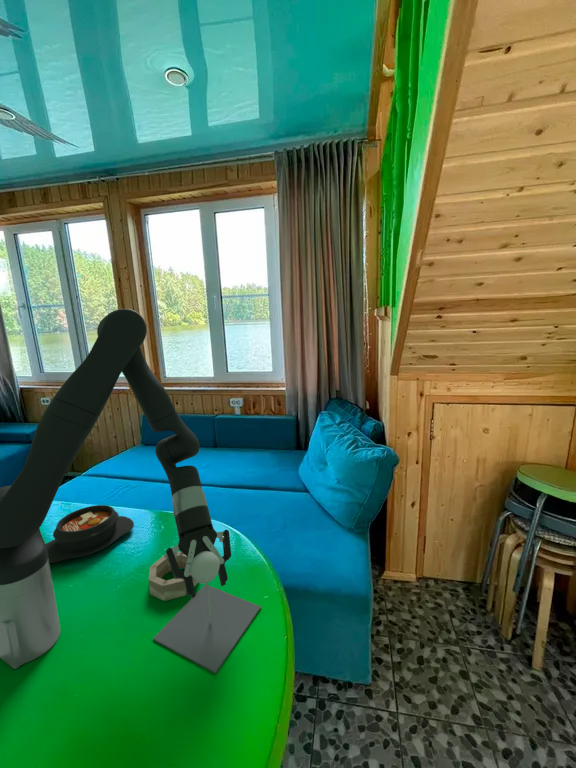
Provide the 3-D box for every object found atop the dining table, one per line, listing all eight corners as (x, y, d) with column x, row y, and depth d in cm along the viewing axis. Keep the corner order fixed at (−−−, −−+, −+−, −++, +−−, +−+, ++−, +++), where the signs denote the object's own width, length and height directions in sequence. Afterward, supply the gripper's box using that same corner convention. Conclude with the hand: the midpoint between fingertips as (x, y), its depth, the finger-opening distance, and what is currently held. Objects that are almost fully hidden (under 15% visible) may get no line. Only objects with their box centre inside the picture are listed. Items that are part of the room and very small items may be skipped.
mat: (215, 673, 61) (215, 672, 60) (153, 640, 68) (153, 638, 68) (261, 608, 75) (260, 606, 75) (205, 585, 82) (205, 584, 82)
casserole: (44, 581, 85) (39, 551, 84) (34, 548, 99) (30, 522, 97) (143, 537, 102) (140, 512, 101) (123, 514, 116) (120, 492, 114)
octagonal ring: (175, 606, 76) (173, 590, 75) (140, 590, 81) (138, 575, 80) (208, 573, 86) (207, 559, 85) (175, 560, 91) (174, 547, 91)
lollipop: (207, 634, 67) (200, 569, 64) (189, 620, 71) (182, 557, 68) (230, 613, 72) (224, 551, 69) (212, 600, 75) (206, 541, 73)
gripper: (158, 514, 71) (173, 603, 62) (224, 496, 77) (245, 574, 69) (158, 525, 76) (171, 607, 68) (219, 507, 83) (238, 580, 74)
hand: (208, 590), depth 68 cm, fingers closed on lollipop, 5 cm apart
